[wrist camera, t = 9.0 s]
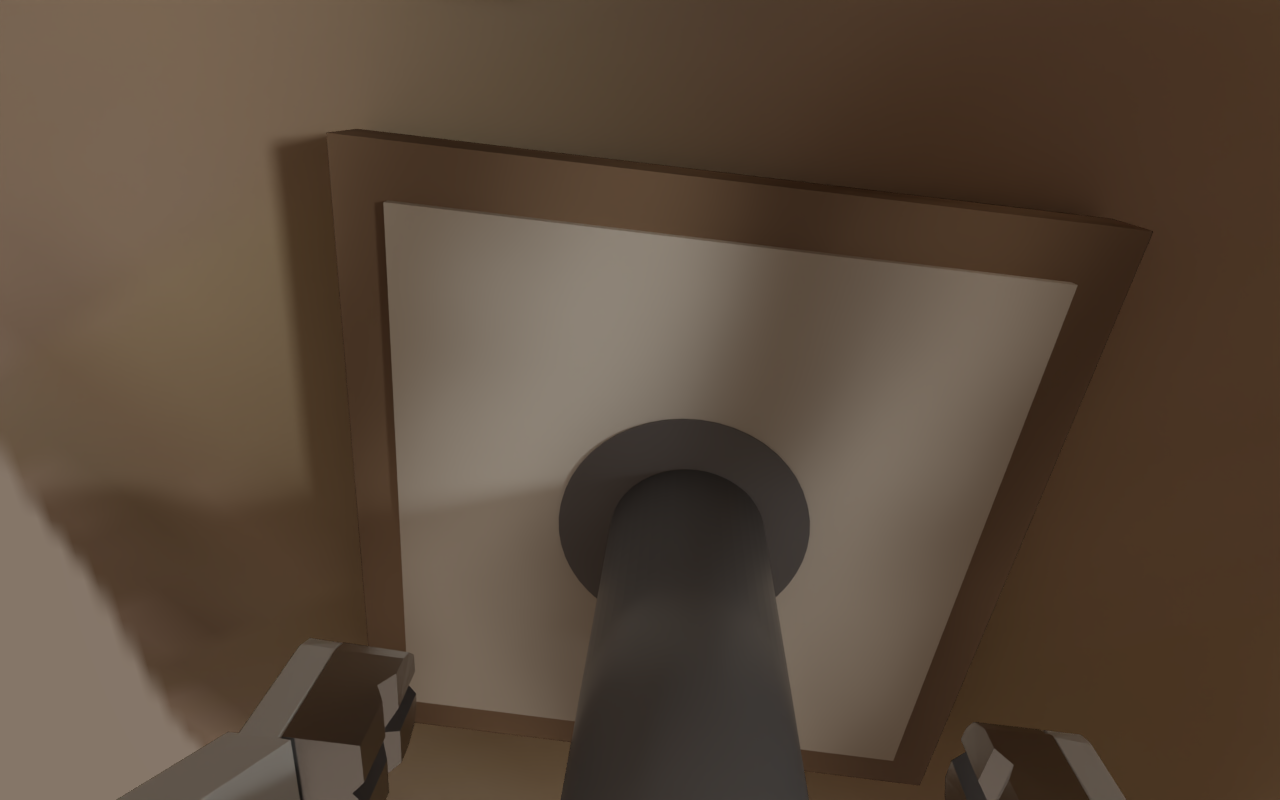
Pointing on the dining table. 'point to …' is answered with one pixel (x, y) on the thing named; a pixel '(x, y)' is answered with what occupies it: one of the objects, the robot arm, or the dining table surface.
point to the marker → (685, 655)
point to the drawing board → (701, 414)
